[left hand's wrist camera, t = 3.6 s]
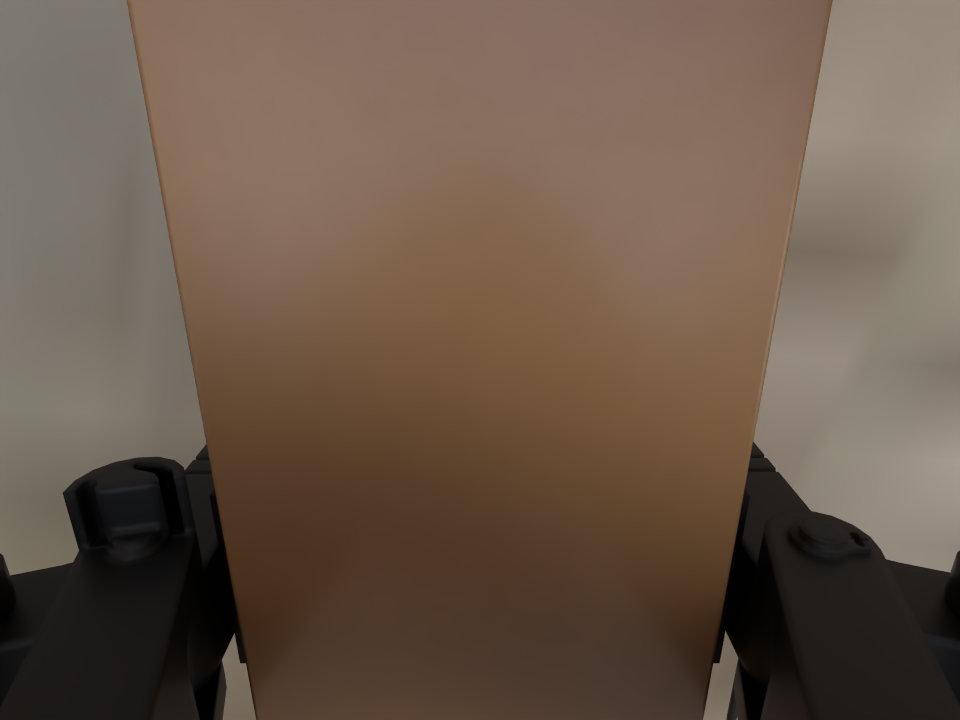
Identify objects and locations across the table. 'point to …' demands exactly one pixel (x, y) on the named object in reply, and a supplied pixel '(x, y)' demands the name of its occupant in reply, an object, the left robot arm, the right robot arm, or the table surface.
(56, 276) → the table surface
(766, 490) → the left robot arm
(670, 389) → the beam
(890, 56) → the table surface
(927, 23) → the table surface
